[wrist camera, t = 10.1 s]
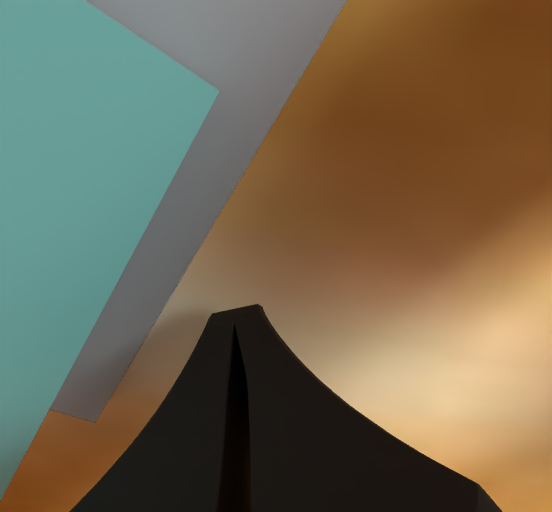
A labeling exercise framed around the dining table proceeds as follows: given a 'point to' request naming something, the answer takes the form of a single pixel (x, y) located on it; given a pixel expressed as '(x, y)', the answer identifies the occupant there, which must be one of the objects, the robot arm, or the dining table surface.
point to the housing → (75, 186)
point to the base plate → (196, 156)
